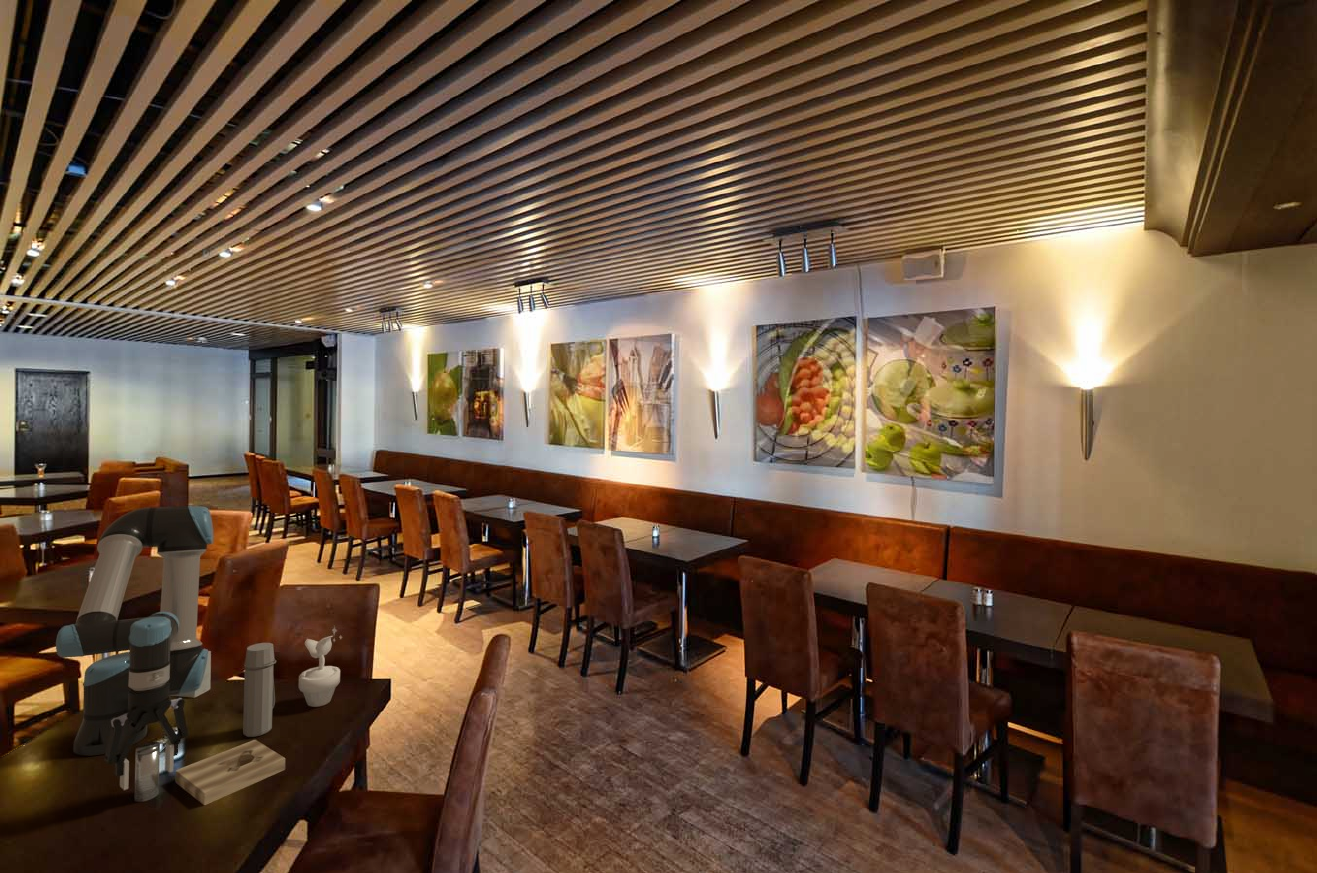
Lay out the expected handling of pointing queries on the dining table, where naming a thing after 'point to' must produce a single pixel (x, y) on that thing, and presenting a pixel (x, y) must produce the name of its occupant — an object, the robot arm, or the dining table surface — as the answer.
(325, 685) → the potted plant
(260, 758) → the jig
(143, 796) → the grey metallic cylinder
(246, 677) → the water bottle
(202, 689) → the small box
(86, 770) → the dining table surface
